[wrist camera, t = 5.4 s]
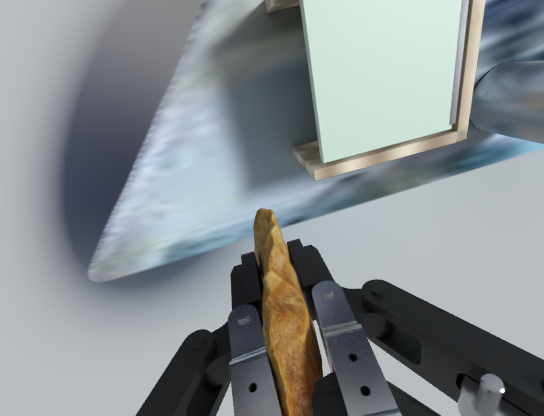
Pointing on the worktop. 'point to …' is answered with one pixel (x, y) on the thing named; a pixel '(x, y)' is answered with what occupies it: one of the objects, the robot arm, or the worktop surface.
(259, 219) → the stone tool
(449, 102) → the trapdoor
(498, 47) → the worktop surface
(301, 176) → the worktop surface
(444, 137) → the trapdoor frame
